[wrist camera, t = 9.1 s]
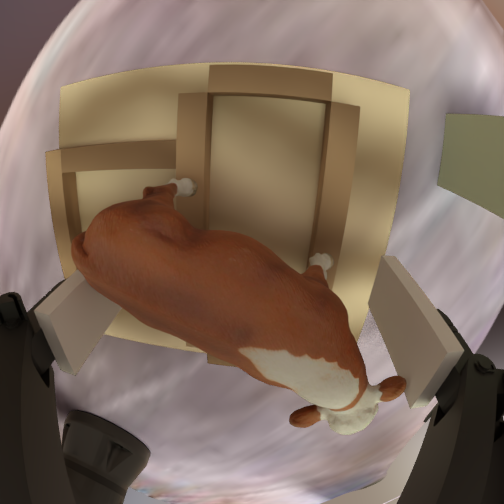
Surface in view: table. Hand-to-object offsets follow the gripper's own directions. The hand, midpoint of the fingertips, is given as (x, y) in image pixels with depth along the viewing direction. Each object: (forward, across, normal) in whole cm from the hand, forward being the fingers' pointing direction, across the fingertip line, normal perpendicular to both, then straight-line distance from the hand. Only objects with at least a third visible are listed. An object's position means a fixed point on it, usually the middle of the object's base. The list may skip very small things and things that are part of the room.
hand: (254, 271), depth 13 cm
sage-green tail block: (+5, -14, -7) cm, 16 cm away
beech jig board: (+5, +3, 0) cm, 6 cm away
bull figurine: (+2, 0, 0) cm, 2 cm away
